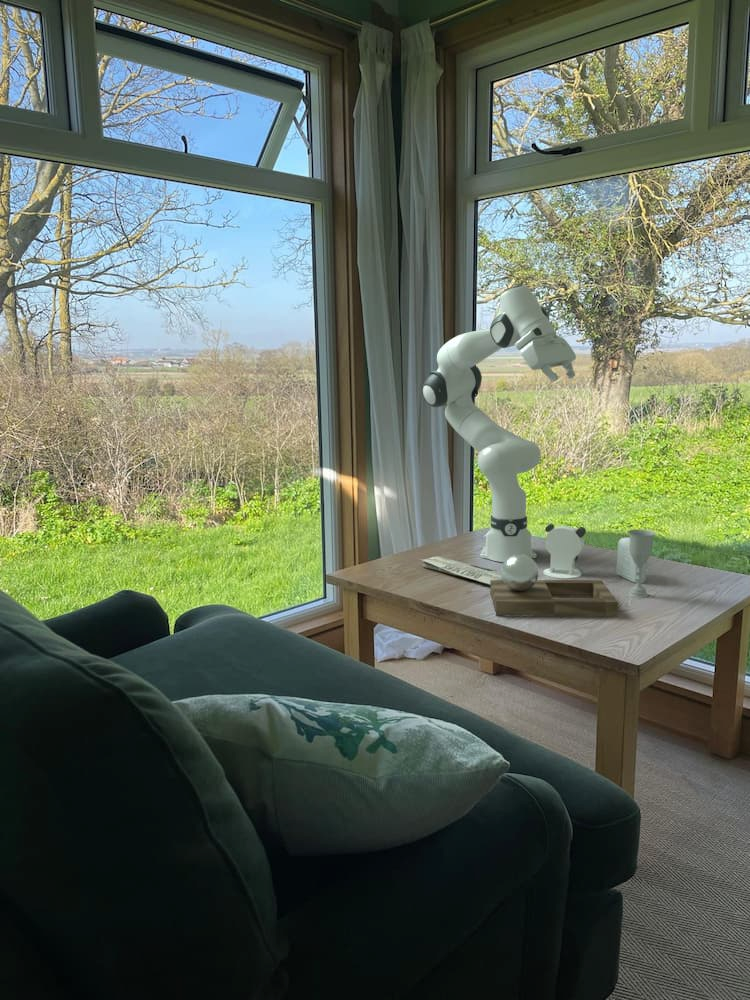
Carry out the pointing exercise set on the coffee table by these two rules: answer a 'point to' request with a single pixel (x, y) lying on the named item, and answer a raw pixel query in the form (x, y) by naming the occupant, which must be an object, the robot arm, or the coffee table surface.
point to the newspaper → (462, 569)
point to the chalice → (640, 556)
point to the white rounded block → (628, 562)
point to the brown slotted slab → (554, 599)
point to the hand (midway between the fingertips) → (564, 378)
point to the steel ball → (519, 572)
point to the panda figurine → (564, 550)
